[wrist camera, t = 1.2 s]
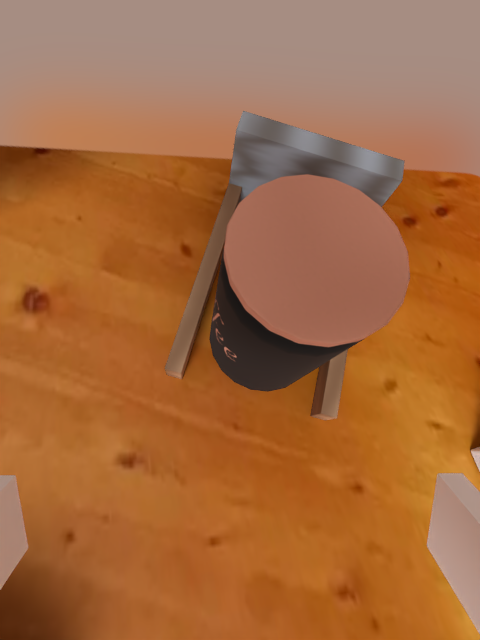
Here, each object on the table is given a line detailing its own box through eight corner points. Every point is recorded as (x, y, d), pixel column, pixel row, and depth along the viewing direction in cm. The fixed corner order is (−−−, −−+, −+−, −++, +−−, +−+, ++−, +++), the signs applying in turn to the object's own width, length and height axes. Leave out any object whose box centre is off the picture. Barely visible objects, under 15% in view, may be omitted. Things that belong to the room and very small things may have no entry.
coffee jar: (224, 281, 38) (249, 152, 21) (318, 308, 38) (417, 202, 21) (196, 376, 34) (199, 311, 17) (301, 405, 35) (403, 368, 18)
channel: (166, 374, 34) (156, 348, 25) (232, 184, 42) (243, 110, 33) (325, 420, 34) (374, 411, 25) (358, 223, 43) (404, 160, 33)
